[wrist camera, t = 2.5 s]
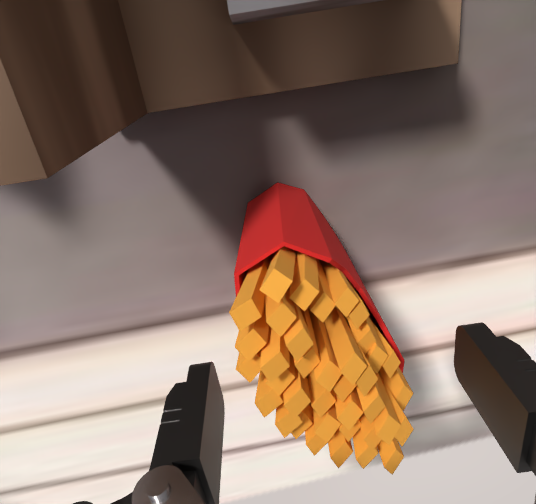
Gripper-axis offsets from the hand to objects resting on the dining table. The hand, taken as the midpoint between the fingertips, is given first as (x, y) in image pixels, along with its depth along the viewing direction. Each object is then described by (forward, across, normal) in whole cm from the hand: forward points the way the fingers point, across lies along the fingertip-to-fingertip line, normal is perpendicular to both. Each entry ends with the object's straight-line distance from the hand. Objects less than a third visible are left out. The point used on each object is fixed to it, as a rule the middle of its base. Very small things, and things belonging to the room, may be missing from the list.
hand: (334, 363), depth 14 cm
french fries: (+12, 0, 0) cm, 12 cm away
